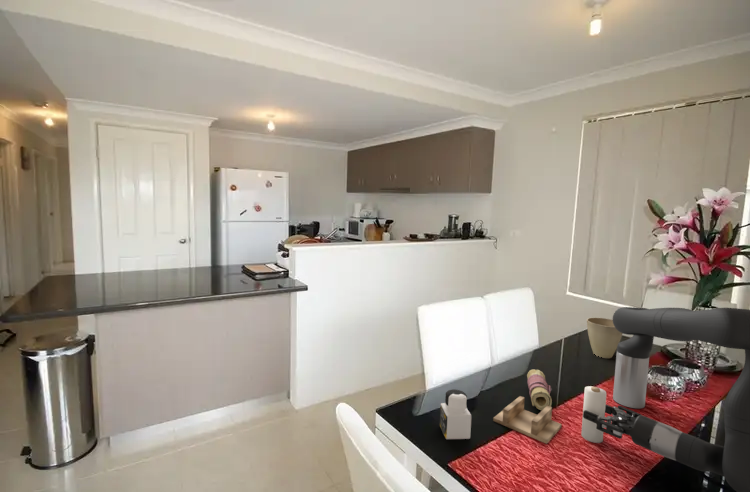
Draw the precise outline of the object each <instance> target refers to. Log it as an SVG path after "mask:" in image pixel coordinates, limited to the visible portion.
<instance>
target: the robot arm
mask: <svg viewBox="0 0 750 492" xmlns="http://www.w3.org/2000/svg"><path fill="white" fill-rule="evenodd" d="M612 320H613V324H614V326H615V328H616V329H617V330H618V331H619V332H621V333H623V334H622V335H628V336H631V337H630V338H628V339H626V340H625V339H624V340H622V341H620V342H619V343H618V345H617V349H616V354H615V356H616V357H615V367H614V369H615V370H614V381H613V382H614V383H613V391H612V392H613V393H612V399H613V400H614V402H616V403H617V404H619V405H618V406H611V405H609V404H606V407H605V414H607V416H605V417H602V416H599V415H596V414H594V413H592V412H589V411H587V410H585V411H584V412H583V411H582V418H583V417H584V418H585V419H587V420H589V421H591V422H594V423H596V424H597V427H596V429H598V430H600V431H602V432H603V433H605V434H608V435H610V436H612V437H614V438H617V439H621V440H623V439H622V437H623V435H625V436H629V437H630V438H631V440H632V442H633V444H635V445H638V446H639V447H642V448H644V449H646V450H648V451H650V452H653V453H656V454H658V455H660V456H662V457H664V458H667V459H670V460H673V461H675V462H678V463H680V464H682V465H685V466H687V467H689V468H691V469H694V470H697V471H701V472H705V473H706V472H707V473H709V472H711V473H713V474H716V475H719V476H722V477H724V479H725V481H726V482H727V484H728V485H729V487H731V488H732V489H733V490H734V491H736V492H750V309H746V308H738V307H737V308H736V307H717V308H709V309H701V310H692V309H689V308H685V307H658V308H646V307H630V306H625V307H624V306H622V307H619V308H617V310H615V311H614V312H613V315H612ZM655 338H659V339H664V340H668V341H677V342H692V341H700V342H704V343H708V344H712V345H716V346H719V347H723V348H727V349H734V350H735V349H736V350H744V358H745V359H744V365H743V368H742V370H741V373H740V374H739V376H738V378H737V379H736V381H735V382H734V384H733V385H732V386H731V388H730V389H729V392H728V393H727V395H726V396H725V397H726V398H725V401H724V406H723V412H724V413H723V415H724V416H723V417H724V418H723V419H724V433H725V434H724V436H725V437H724V445H720V444H715V443H712V442H709V441H705V440H704V439H702V438H699V437H698V436H694V435H691V434H688V433H686V432H683V431H681V430H679V429H677V428H675V427H674V426H671V425H669V424H665V423H663V422H662V421H658V420H655V419H653V418H652V417H651V418H650V417H648V416H646V415H643V414H641V413H639V412H636V411H634V410H632V409H643V408H645V406H646V396H647V386H648V377H649V376H648V375H649V366H650V365H649V364H650V363H649V362H650V356H651V355H650V354H651V352H652V350H653V345H654V339H655ZM603 420H604V421H603ZM602 427H604V428H602Z"/></svg>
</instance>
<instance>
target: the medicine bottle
mask: <svg viewBox="0 0 750 492" xmlns="http://www.w3.org/2000/svg"><path fill="white" fill-rule="evenodd" d="M467 400H468V395H467V393H465V391H463V390H460V389H456V388H455V389H449V390H447V391H446V392H445V401H444V402H441V403H440V409H439V411H440V412H439V427H440V429H441V431H442V434H443V436H444V438H445V439H446V440H465V439H466V440H469V439H471V428H472V414H471V412H470V411H469V410H468V407H467V402H468V401H467Z"/></svg>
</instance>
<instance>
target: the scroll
mask: <svg viewBox="0 0 750 492" xmlns="http://www.w3.org/2000/svg"><path fill="white" fill-rule="evenodd" d="M526 377H527V382H526V383H527V386H528V392H529V393H528V394H529V397H530V401H531V405H532V407H536V409H538V410H540V411H542V410H543V409H544V408H545V407H546V406H549V407H552V404H553V402H552V401H553V400H552V396H551V395H550V394H551V392H552V391H553V389H552V386H551V385H549V384H548V383H547V380H546V375H545V374H544V372H543V371H541V370H540V369H530V370H529V371H528V372H527V374H526Z"/></svg>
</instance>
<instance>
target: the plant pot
mask: <svg viewBox="0 0 750 492" xmlns="http://www.w3.org/2000/svg"><path fill="white" fill-rule="evenodd" d="M586 325H587V326H586V327H587V334H588V339H589V344H590V347H591V351H592V354H593V355H594V354H595V355H596V357H598V356H599V357H598V358H601V357H602V358H601V359H612V358H613V356H614V355H615V352H617V345H618V343H619V342H621V340H622V337H623V335H624V334H623V333H621V332H619V331H618V330H617V329H616V328H615V326H614V324H613V318H612V319H611V318H605V317H588V318H586ZM595 355H594V356H595Z"/></svg>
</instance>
